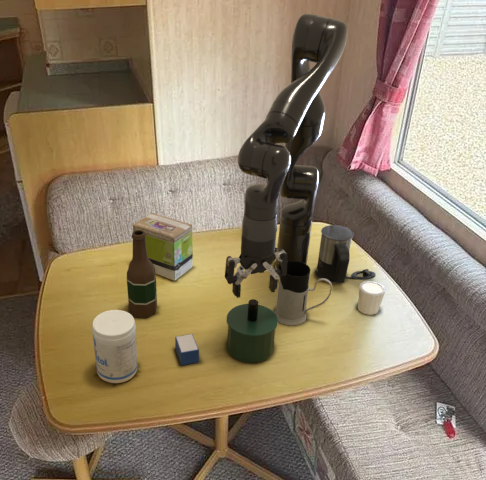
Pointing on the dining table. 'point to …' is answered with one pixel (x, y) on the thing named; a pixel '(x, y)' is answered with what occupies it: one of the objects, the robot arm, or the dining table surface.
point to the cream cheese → (187, 349)
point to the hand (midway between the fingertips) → (254, 293)
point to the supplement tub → (115, 346)
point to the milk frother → (337, 255)
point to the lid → (252, 319)
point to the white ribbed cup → (370, 297)
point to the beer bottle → (141, 279)
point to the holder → (295, 294)
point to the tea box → (167, 244)
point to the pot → (250, 346)
